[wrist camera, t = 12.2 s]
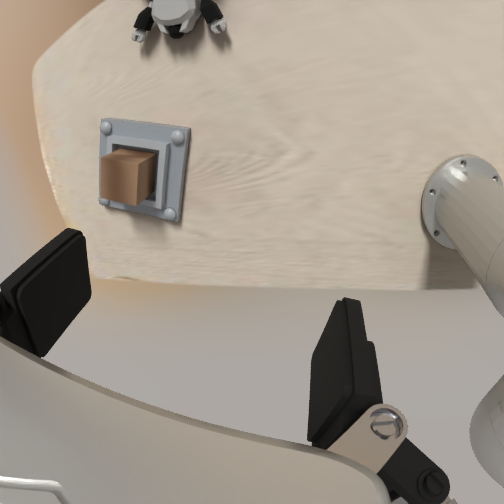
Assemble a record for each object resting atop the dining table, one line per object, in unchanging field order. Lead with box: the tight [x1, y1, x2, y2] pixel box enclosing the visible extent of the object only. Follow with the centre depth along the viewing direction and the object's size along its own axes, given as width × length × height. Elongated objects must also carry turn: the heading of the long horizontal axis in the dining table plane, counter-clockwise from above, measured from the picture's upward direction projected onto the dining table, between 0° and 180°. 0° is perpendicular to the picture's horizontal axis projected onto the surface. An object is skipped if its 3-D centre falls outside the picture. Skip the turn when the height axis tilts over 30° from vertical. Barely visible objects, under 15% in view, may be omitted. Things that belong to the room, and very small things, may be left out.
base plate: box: [99, 118, 191, 222], centre depth 38 cm, size 12×12×2 cm
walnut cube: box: [100, 148, 157, 206], centre depth 36 cm, size 5×5×5 cm
